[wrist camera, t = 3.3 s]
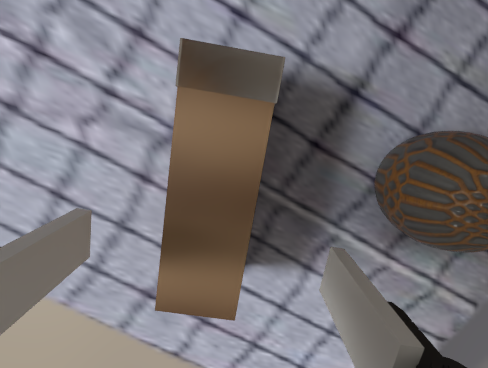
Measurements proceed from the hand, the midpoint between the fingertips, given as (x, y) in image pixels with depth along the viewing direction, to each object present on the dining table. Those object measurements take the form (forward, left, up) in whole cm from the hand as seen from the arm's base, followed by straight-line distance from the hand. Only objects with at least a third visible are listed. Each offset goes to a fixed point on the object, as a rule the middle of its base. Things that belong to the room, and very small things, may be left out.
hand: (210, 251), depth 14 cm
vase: (+13, +5, -6) cm, 15 cm away
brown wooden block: (0, +3, -6) cm, 6 cm away
